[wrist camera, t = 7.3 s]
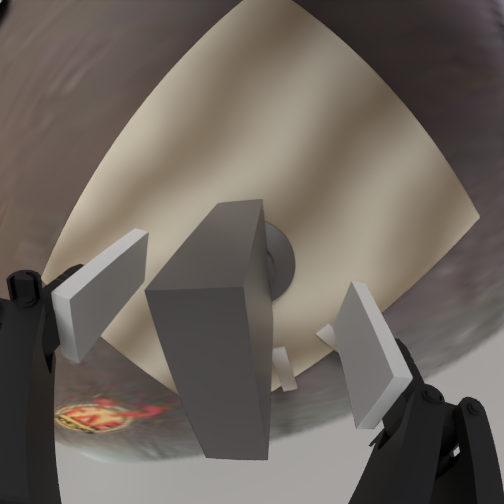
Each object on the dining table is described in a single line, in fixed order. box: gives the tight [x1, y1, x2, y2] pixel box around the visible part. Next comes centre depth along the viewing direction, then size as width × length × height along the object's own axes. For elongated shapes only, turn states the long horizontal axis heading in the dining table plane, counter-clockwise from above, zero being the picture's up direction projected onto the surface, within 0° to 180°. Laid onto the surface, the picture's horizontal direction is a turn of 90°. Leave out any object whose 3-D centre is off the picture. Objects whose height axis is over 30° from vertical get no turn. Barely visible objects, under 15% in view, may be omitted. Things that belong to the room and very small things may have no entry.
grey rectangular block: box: [144, 199, 274, 460], centre depth 12 cm, size 3×12×9 cm, turn 6°
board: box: [41, 0, 480, 395], centre depth 17 cm, size 20×24×2 cm
